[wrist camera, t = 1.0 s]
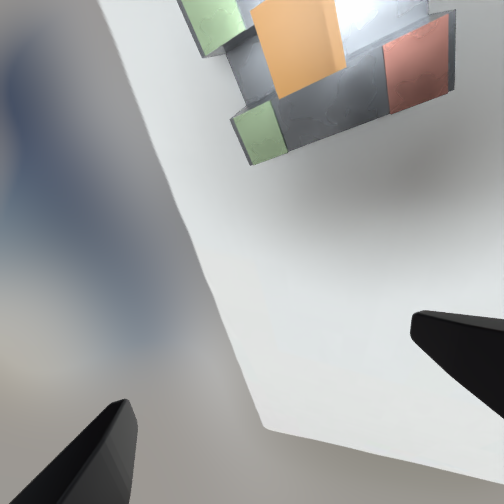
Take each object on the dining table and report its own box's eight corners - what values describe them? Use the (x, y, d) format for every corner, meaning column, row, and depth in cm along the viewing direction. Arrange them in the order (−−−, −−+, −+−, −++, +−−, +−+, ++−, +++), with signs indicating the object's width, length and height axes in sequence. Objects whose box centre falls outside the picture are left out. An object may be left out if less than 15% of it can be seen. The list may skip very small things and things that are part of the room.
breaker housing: (416, -179, 10) (465, -303, 7) (425, 81, 15) (455, 97, 12) (206, -10, 15) (163, -25, 11) (266, 145, 20) (251, 170, 17)
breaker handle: (329, -6, 12) (326, -43, 6) (340, 52, 13) (346, 67, 7) (287, 21, 13) (249, 11, 7) (301, 72, 14) (278, 99, 8)
